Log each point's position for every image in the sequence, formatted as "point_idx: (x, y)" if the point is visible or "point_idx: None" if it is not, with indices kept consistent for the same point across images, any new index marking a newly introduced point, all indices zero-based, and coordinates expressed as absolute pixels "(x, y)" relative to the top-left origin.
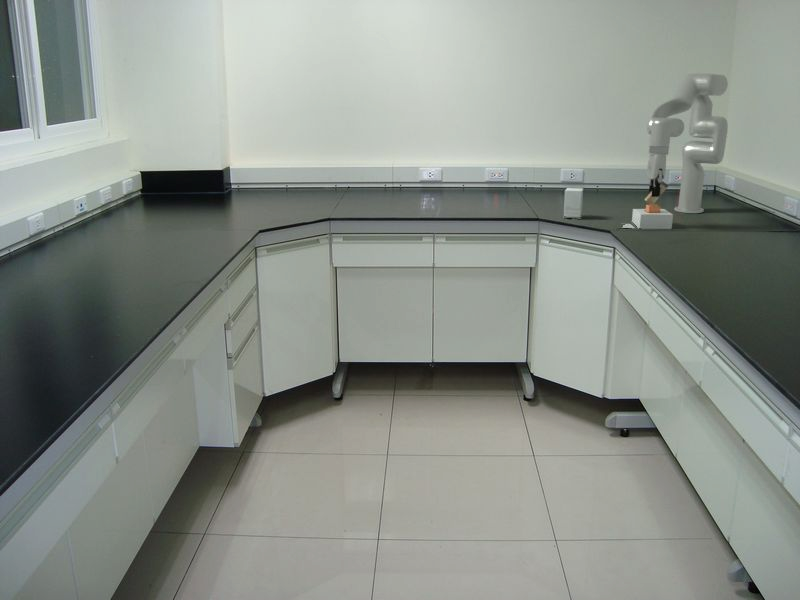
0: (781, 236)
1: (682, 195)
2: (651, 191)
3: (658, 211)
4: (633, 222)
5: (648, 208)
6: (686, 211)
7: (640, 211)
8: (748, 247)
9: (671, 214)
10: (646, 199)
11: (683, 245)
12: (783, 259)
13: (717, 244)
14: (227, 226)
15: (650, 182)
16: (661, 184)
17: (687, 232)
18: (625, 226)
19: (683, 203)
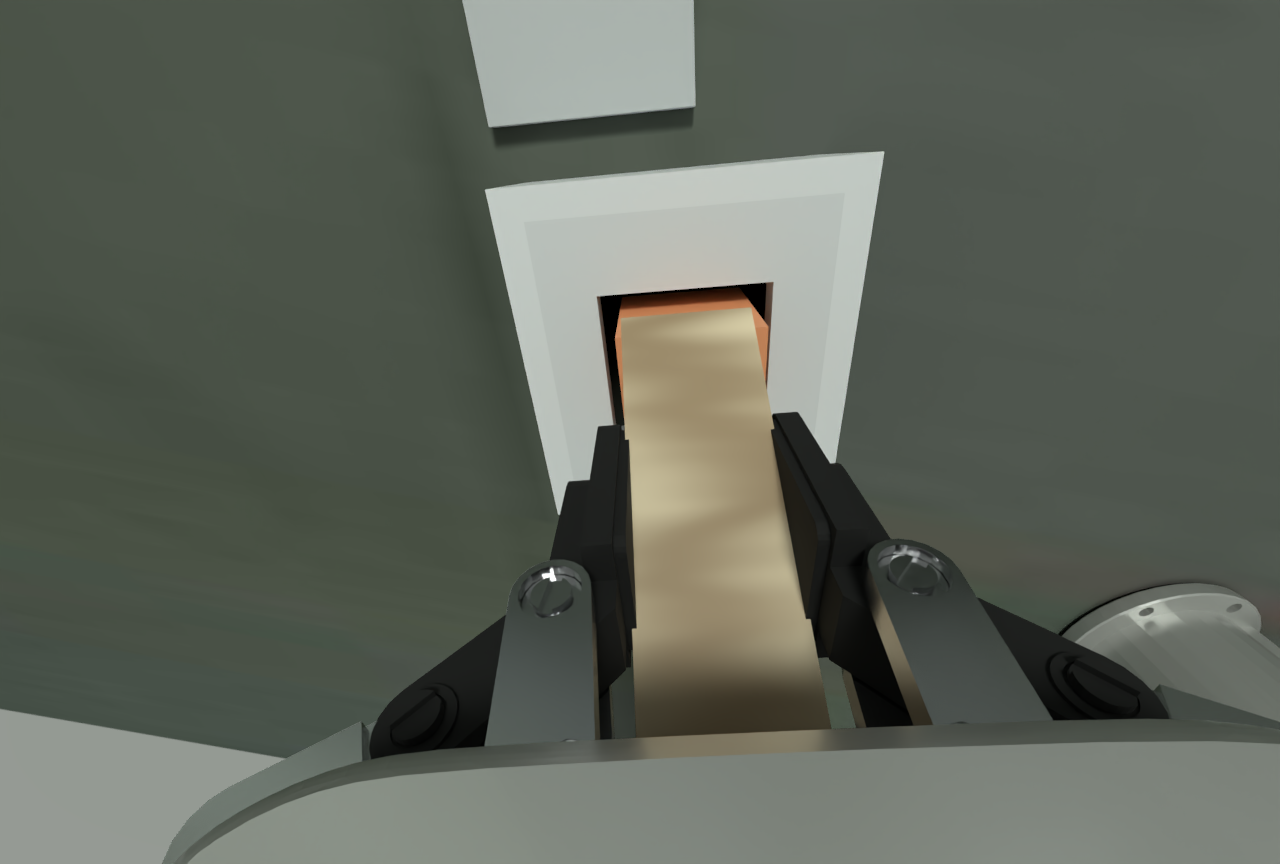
0: None
1: (1266, 713)
2: (757, 478)
3: None
4: (757, 160)
5: None
6: (1087, 626)
7: (693, 227)
8: (222, 662)
9: (558, 503)
10: (676, 333)
11: (43, 407)
12: (63, 703)
13: (210, 575)
14: None
15: (902, 605)
16: (640, 732)
17: (486, 510)
18: (541, 6)
19: (1179, 660)
